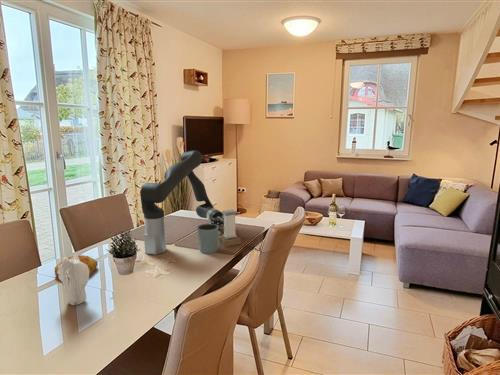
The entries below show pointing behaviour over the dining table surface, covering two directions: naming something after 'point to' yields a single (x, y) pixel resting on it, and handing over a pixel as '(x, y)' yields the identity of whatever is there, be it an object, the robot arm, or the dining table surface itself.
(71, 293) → the shell sculpture
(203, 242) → the teal cylindrical container
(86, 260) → the croissant
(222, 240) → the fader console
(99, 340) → the dining table surface
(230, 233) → the white tall block
